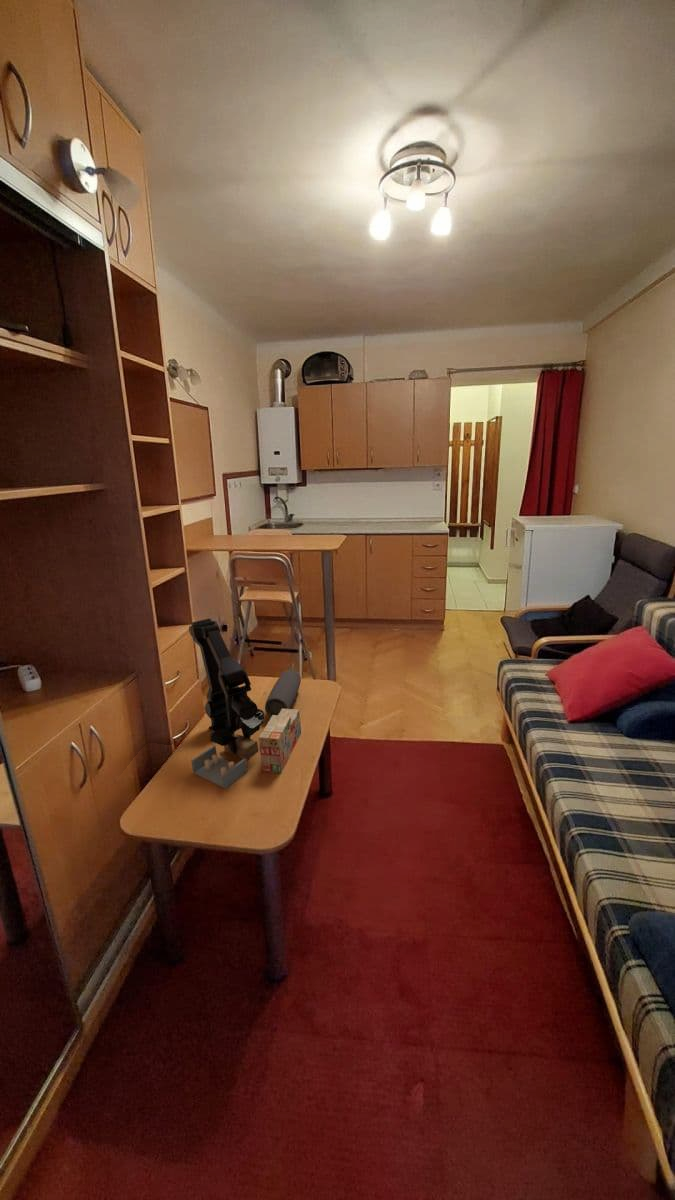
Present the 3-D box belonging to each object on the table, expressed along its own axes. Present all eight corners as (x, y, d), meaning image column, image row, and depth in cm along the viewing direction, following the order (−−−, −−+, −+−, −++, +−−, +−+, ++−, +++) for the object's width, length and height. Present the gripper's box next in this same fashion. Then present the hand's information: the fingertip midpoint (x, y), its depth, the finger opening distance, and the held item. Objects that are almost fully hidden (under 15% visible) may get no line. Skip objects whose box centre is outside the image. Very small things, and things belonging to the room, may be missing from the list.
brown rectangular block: (224, 751, 151) (223, 740, 150) (235, 743, 155) (234, 732, 154) (247, 760, 146) (246, 749, 145) (258, 751, 150) (257, 741, 149)
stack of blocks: (284, 731, 160) (281, 700, 157) (301, 733, 159) (299, 701, 155) (262, 771, 140) (258, 736, 137) (281, 773, 139) (278, 738, 135)
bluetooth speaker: (280, 690, 189) (278, 668, 186) (302, 691, 187) (301, 668, 184) (264, 721, 167) (262, 696, 164) (289, 722, 166) (287, 697, 163)
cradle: (193, 772, 141) (191, 760, 140) (215, 756, 148) (213, 745, 147) (225, 788, 134) (224, 776, 132) (247, 771, 141) (246, 758, 139)
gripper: (232, 727, 134) (238, 772, 139) (274, 698, 149) (278, 740, 153) (206, 716, 140) (212, 760, 145) (249, 690, 155) (253, 731, 159)
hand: (241, 748), depth 150 cm, fingers open, 5 cm apart
